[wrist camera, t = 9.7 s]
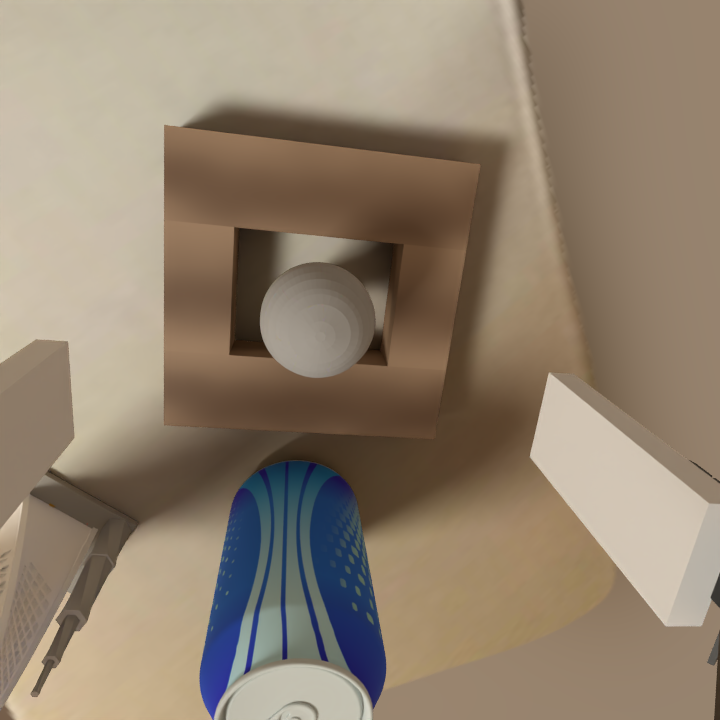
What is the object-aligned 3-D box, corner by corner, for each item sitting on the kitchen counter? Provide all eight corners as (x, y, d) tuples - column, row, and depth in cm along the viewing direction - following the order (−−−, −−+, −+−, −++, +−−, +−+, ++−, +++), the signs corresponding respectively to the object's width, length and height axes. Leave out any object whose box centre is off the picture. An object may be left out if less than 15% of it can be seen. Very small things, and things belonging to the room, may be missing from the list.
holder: (176, 129, 30) (164, 125, 27) (464, 164, 32) (480, 164, 29) (174, 404, 35) (163, 425, 32) (423, 418, 37) (434, 439, 34)
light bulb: (334, 228, 32) (350, 251, 23) (373, 310, 34) (402, 362, 25) (250, 268, 33) (232, 308, 23) (293, 348, 34) (292, 415, 25)
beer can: (223, 458, 36) (172, 662, 21) (351, 443, 37) (389, 631, 22) (241, 563, 39) (207, 810, 24) (360, 548, 40) (399, 779, 25)
